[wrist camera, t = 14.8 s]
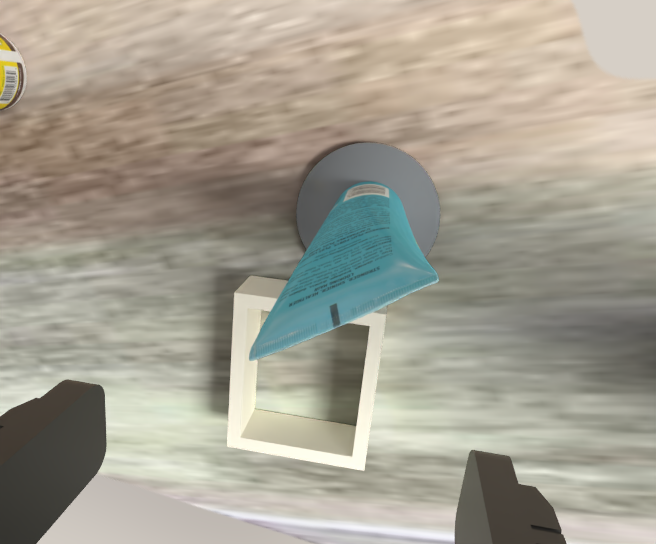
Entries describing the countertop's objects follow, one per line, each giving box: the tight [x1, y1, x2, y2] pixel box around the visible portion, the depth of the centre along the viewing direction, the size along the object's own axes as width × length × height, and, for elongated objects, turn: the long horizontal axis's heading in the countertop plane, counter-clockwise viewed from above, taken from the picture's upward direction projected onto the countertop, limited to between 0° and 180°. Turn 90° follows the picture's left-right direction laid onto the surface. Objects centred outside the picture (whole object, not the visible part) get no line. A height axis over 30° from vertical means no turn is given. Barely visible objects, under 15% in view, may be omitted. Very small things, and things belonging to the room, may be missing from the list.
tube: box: [249, 181, 439, 361], centre depth 27 cm, size 7×5×19 cm, turn 122°
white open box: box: [227, 275, 387, 471], centre depth 39 cm, size 10×12×4 cm
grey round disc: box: [296, 142, 440, 257], centre depth 37 cm, size 10×10×1 cm
